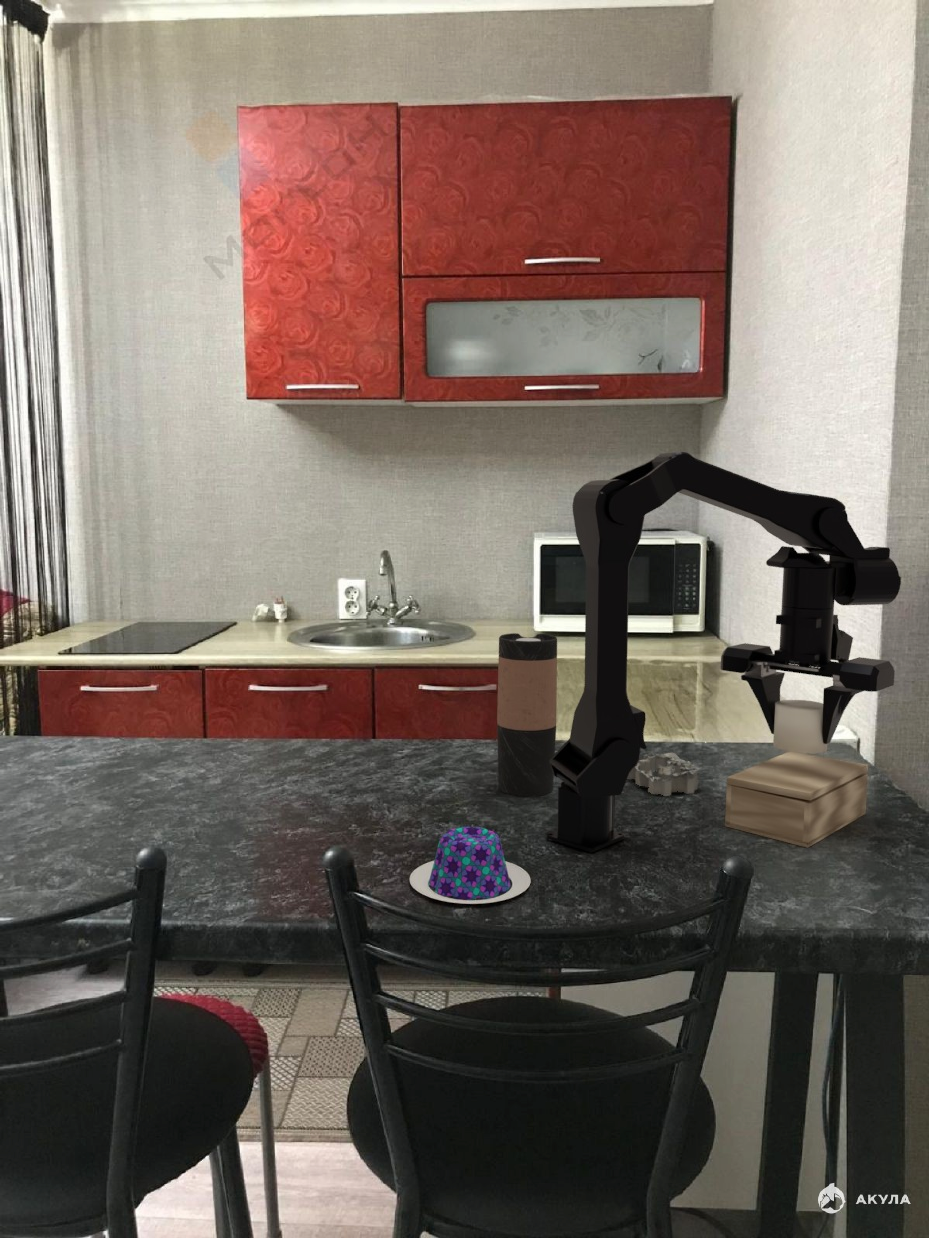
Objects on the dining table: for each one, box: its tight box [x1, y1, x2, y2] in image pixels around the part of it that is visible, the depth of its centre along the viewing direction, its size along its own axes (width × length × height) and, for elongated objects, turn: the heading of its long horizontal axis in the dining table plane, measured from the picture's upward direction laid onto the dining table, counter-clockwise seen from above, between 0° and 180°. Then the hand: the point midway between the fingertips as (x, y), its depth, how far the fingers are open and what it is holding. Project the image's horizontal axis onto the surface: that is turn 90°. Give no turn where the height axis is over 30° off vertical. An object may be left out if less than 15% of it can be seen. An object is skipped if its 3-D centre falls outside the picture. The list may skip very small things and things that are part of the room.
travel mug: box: [496, 632, 558, 797], centre depth 128 cm, size 8×8×20 cm
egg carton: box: [627, 752, 703, 797], centre depth 132 cm, size 11×8×4 cm
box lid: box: [726, 751, 869, 801], centre depth 117 cm, size 16×10×1 cm, turn 137°
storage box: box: [724, 772, 869, 849], centre depth 117 cm, size 16×10×5 cm, turn 137°
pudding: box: [409, 826, 531, 905], centre depth 98 cm, size 12×12×5 cm
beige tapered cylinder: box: [772, 699, 828, 755], centre depth 116 cm, size 6×6×5 cm
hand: (800, 738), depth 116 cm, fingers closed on beige tapered cylinder, 6 cm apart
